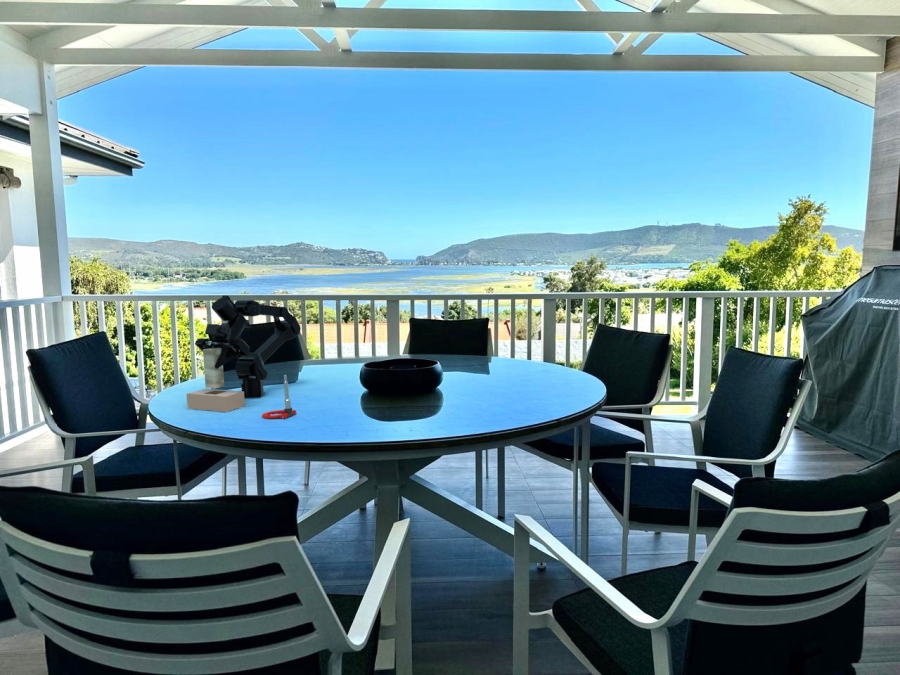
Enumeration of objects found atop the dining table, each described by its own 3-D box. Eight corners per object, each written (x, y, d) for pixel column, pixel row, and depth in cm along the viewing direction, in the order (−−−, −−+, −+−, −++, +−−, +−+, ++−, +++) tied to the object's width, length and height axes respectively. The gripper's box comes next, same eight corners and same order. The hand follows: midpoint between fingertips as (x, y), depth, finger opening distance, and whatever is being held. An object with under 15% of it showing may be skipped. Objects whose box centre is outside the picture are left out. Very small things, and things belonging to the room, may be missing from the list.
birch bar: (214, 385, 192) (212, 347, 190) (224, 386, 190) (221, 348, 189) (205, 387, 188) (202, 349, 187) (215, 388, 187) (212, 350, 185)
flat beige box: (207, 403, 197) (206, 388, 196) (244, 406, 191) (243, 391, 190) (187, 408, 189) (186, 393, 188) (226, 412, 183) (225, 396, 183)
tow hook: (256, 420, 175) (283, 420, 172) (252, 377, 173) (279, 377, 171) (272, 413, 183) (298, 413, 180) (268, 372, 181) (294, 372, 179)
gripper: (197, 314, 193) (172, 351, 185) (241, 314, 187) (218, 353, 178) (216, 334, 202) (193, 371, 193) (259, 336, 195) (238, 374, 186)
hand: (210, 367), depth 187 cm, fingers closed on birch bar, 4 cm apart
